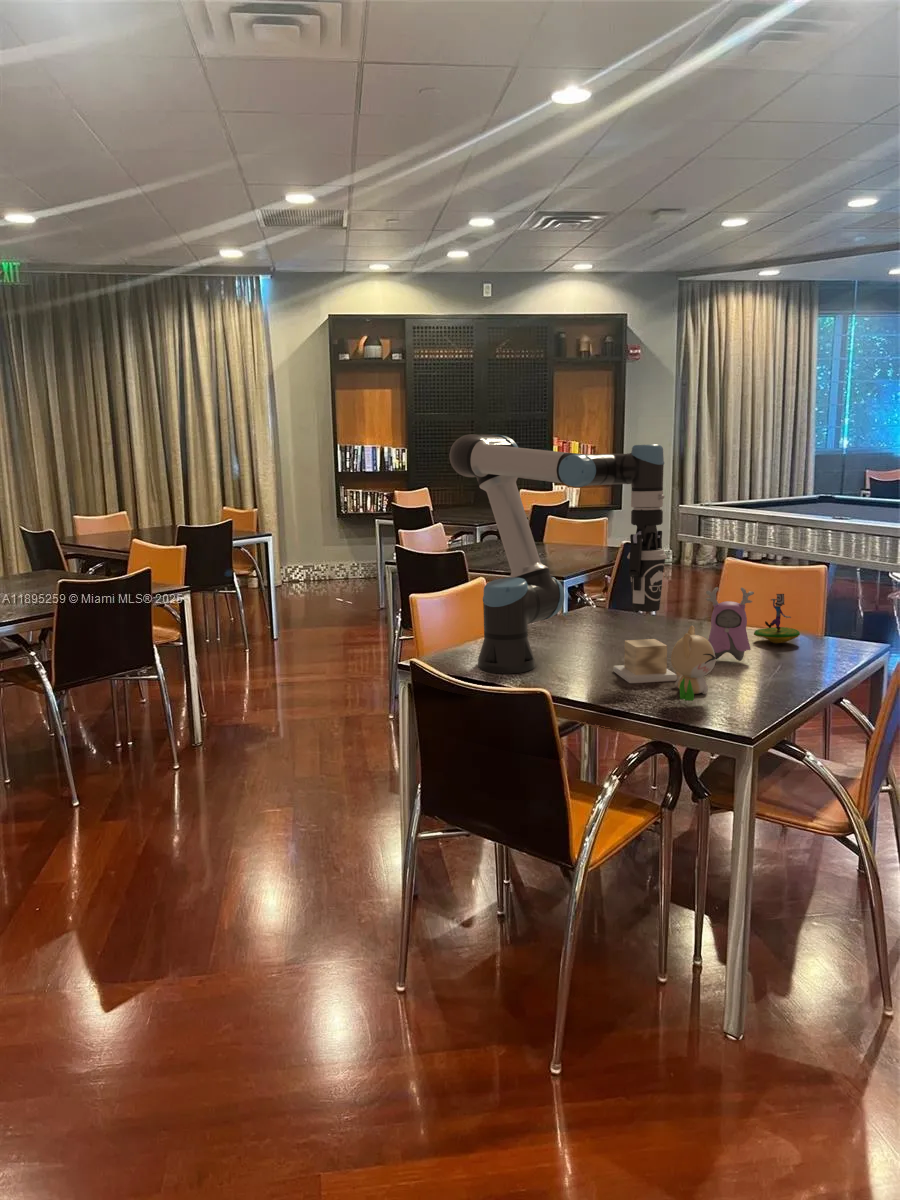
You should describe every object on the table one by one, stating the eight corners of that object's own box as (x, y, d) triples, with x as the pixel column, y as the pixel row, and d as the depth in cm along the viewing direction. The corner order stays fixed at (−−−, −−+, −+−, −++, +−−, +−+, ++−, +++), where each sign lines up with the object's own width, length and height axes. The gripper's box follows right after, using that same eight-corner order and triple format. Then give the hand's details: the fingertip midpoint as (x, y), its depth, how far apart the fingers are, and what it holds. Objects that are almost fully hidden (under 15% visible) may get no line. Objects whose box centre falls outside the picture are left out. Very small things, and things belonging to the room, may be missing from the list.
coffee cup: (662, 606, 208) (663, 547, 205) (668, 612, 198) (670, 551, 196) (624, 606, 209) (625, 547, 206) (628, 612, 199) (629, 551, 197)
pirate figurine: (751, 637, 248) (753, 588, 246) (796, 638, 245) (798, 589, 242) (755, 647, 235) (757, 595, 233) (802, 648, 232) (805, 596, 229)
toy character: (703, 663, 217) (705, 589, 214) (705, 654, 227) (707, 583, 224) (751, 666, 213) (754, 590, 210) (751, 657, 223) (754, 584, 219)
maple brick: (635, 674, 201) (635, 647, 200) (624, 667, 209) (624, 640, 208) (666, 673, 202) (667, 645, 201) (654, 665, 210) (654, 638, 209)
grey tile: (629, 683, 200) (629, 677, 199) (613, 671, 211) (613, 665, 211) (676, 680, 201) (676, 674, 201) (657, 668, 213) (658, 663, 213)
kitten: (711, 703, 181) (713, 637, 179) (665, 699, 185) (666, 634, 183) (718, 686, 195) (720, 625, 193) (675, 683, 199) (676, 622, 196)
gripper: (643, 511, 189) (642, 608, 193) (678, 506, 205) (676, 596, 209) (614, 510, 194) (613, 605, 197) (649, 506, 210) (648, 594, 213)
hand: (645, 600), depth 203 cm, fingers closed on coffee cup, 8 cm apart
